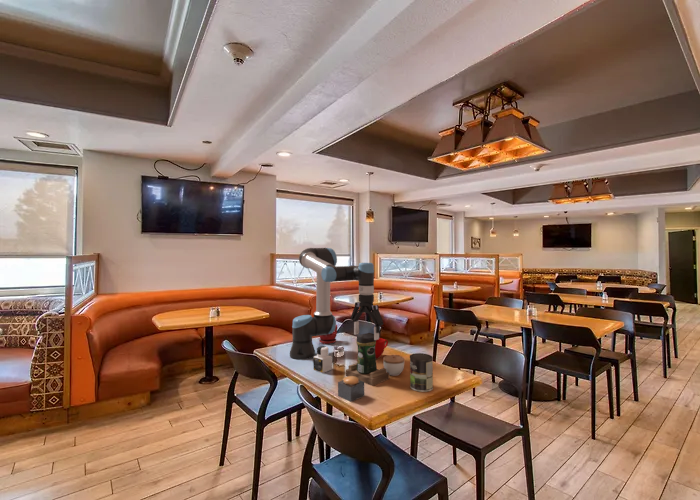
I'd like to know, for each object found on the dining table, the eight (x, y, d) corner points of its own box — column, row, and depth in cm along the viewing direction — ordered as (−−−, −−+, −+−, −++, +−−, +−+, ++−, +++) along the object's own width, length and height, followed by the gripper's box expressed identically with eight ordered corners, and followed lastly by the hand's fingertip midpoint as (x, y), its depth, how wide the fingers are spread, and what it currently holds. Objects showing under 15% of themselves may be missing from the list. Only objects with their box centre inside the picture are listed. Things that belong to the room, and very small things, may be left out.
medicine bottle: (313, 370, 177) (313, 347, 177) (323, 366, 182) (323, 344, 182) (322, 373, 172) (322, 349, 172) (332, 369, 177) (332, 346, 177)
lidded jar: (392, 368, 178) (392, 350, 178) (408, 373, 170) (408, 355, 171) (379, 373, 171) (378, 355, 171) (395, 379, 163) (395, 359, 163)
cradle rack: (345, 375, 168) (345, 365, 168) (362, 369, 176) (362, 360, 176) (372, 385, 155) (372, 375, 155) (389, 379, 163) (388, 368, 163)
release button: (340, 395, 144) (340, 378, 144) (351, 391, 149) (351, 375, 149) (350, 400, 140) (350, 382, 140) (361, 395, 144) (361, 378, 144)
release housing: (338, 396, 144) (337, 382, 144) (351, 390, 150) (351, 377, 150) (350, 401, 139) (350, 387, 139) (364, 396, 144) (364, 382, 144)
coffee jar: (369, 367, 172) (368, 330, 172) (379, 371, 165) (378, 333, 165) (353, 371, 166) (353, 333, 166) (363, 375, 159) (363, 336, 160)
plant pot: (340, 343, 229) (340, 325, 229) (323, 345, 223) (323, 327, 223) (332, 338, 240) (331, 322, 241) (315, 341, 234) (315, 324, 234)
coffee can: (415, 393, 146) (415, 360, 147) (406, 384, 157) (406, 354, 157) (437, 390, 149) (436, 358, 149) (426, 382, 159) (426, 352, 159)
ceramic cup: (394, 356, 198) (394, 339, 199) (372, 362, 189) (372, 344, 189) (380, 351, 209) (380, 335, 209) (358, 356, 200) (358, 339, 200)
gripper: (343, 292, 172) (343, 333, 172) (380, 297, 154) (380, 343, 154) (354, 291, 178) (354, 331, 178) (390, 295, 160) (390, 340, 160)
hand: (366, 336), depth 166 cm, fingers open, 13 cm apart
